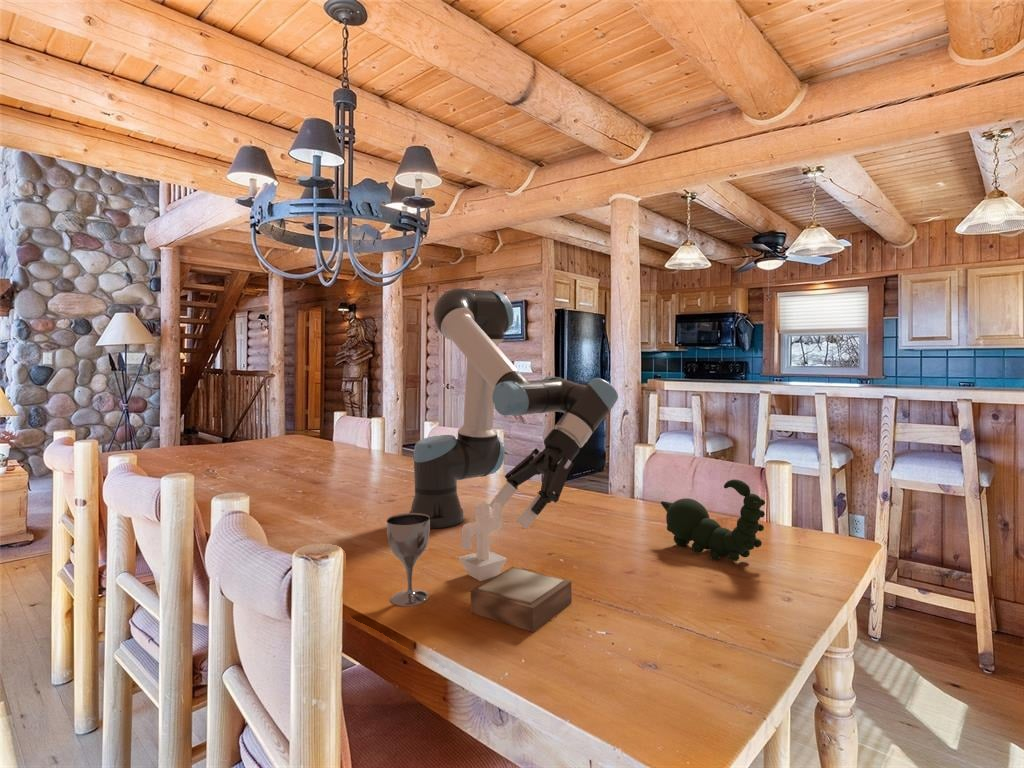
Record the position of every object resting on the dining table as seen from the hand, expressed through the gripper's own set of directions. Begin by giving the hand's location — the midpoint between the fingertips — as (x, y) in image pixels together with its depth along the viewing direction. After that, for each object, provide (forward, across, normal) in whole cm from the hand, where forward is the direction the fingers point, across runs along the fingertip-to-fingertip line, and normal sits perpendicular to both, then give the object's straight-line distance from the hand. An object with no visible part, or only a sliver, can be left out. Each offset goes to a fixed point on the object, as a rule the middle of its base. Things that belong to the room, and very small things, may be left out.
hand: (506, 516), depth 113 cm
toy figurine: (-23, -10, -41) cm, 48 cm away
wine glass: (+24, -2, +7) cm, 25 cm away
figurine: (+12, +2, -5) cm, 13 cm away
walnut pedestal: (+12, -16, -5) cm, 20 cm away
